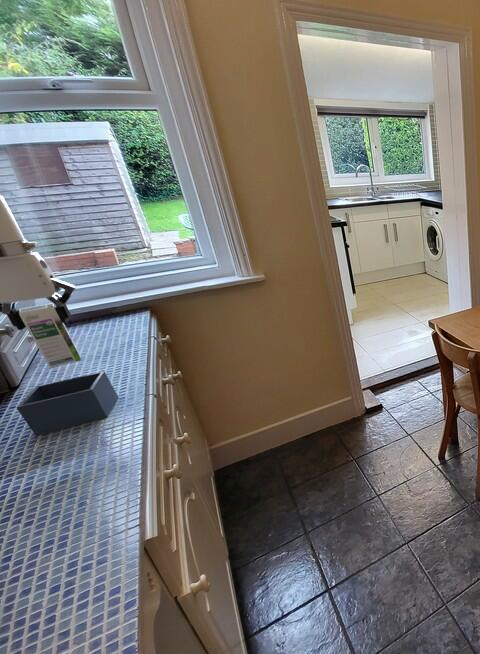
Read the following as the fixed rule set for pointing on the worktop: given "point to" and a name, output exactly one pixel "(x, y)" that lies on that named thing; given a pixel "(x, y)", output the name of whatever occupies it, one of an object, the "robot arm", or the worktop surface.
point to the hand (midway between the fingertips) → (45, 323)
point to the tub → (68, 403)
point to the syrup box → (50, 335)
